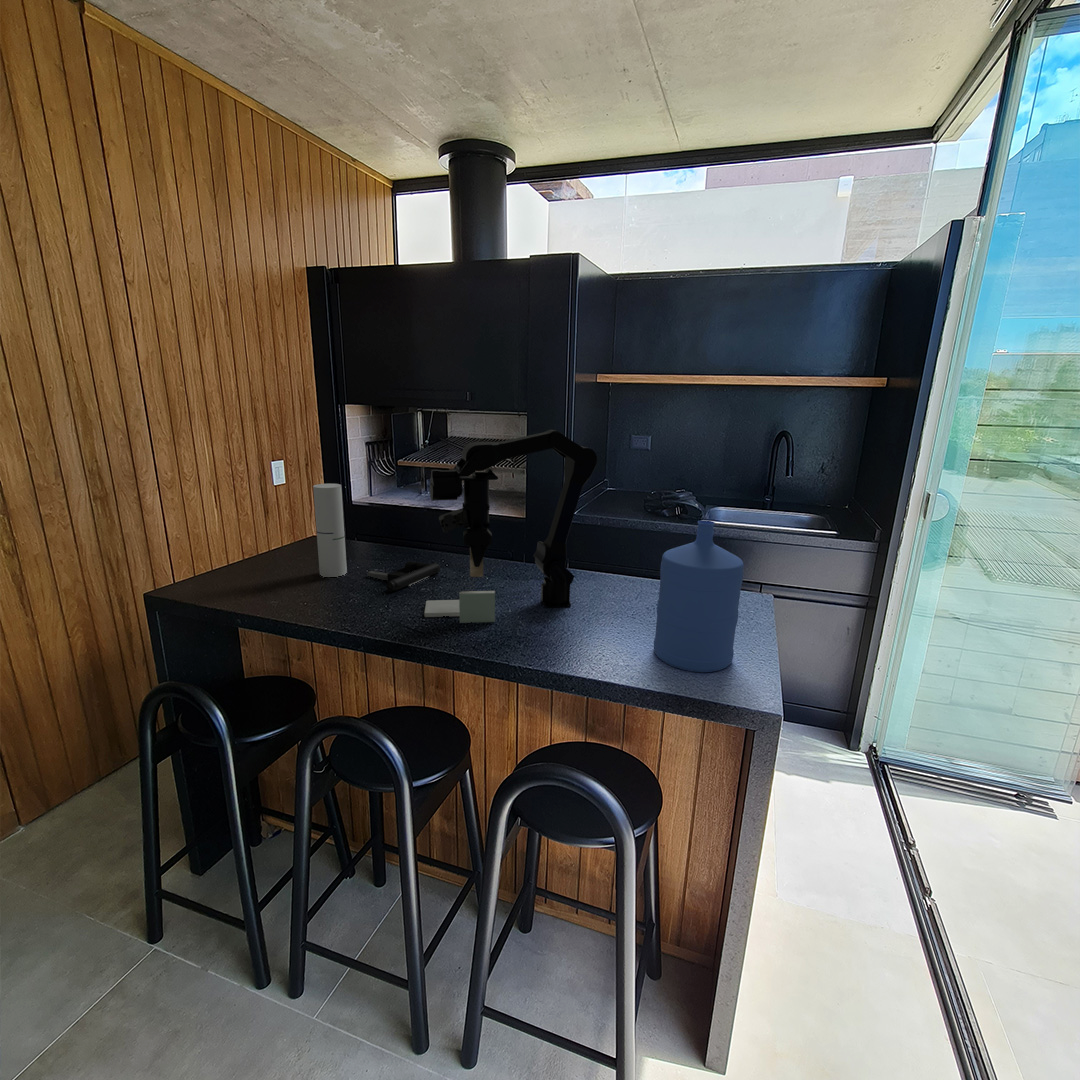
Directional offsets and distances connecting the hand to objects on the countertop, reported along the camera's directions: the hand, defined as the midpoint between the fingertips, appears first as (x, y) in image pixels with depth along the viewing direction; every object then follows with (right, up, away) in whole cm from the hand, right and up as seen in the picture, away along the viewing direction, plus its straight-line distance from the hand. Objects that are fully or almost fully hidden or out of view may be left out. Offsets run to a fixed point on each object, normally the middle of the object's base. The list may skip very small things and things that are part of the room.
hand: (476, 564), depth 132 cm
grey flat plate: (-7, -11, +2) cm, 13 cm away
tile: (0, -13, -3) cm, 13 cm away
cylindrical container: (-43, -4, +26) cm, 50 cm away
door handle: (-24, -5, +24) cm, 35 cm away
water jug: (+46, -18, -17) cm, 52 cm away
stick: (0, -2, +1) cm, 2 cm away
